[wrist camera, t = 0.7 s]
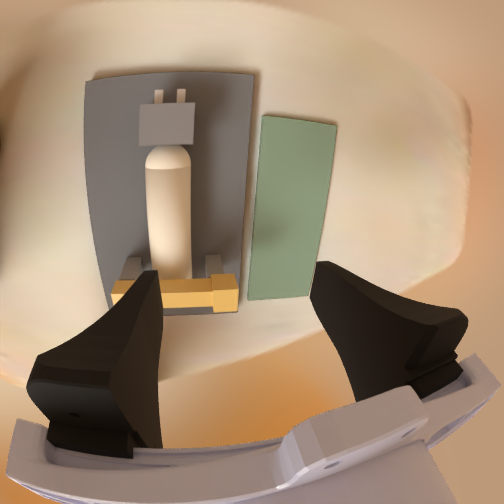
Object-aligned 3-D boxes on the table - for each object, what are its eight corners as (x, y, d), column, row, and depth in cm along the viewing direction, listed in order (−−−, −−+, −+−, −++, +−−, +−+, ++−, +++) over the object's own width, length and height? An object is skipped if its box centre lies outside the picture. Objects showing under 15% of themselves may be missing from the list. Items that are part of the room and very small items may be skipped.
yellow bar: (233, 294, 20) (237, 311, 18) (119, 297, 18) (114, 314, 16) (234, 273, 19) (238, 289, 17) (114, 276, 17) (109, 292, 16)
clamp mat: (236, 307, 26) (243, 336, 22) (112, 310, 23) (104, 340, 20) (251, 76, 17) (265, 67, 13) (89, 82, 14) (67, 76, 11)
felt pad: (306, 293, 27) (308, 295, 26) (247, 298, 26) (248, 300, 25) (334, 125, 20) (337, 125, 19) (262, 115, 18) (263, 115, 18)
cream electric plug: (193, 287, 23) (195, 311, 20) (157, 288, 22) (153, 312, 19) (195, 91, 16) (196, 86, 13) (149, 93, 15) (140, 88, 12)
